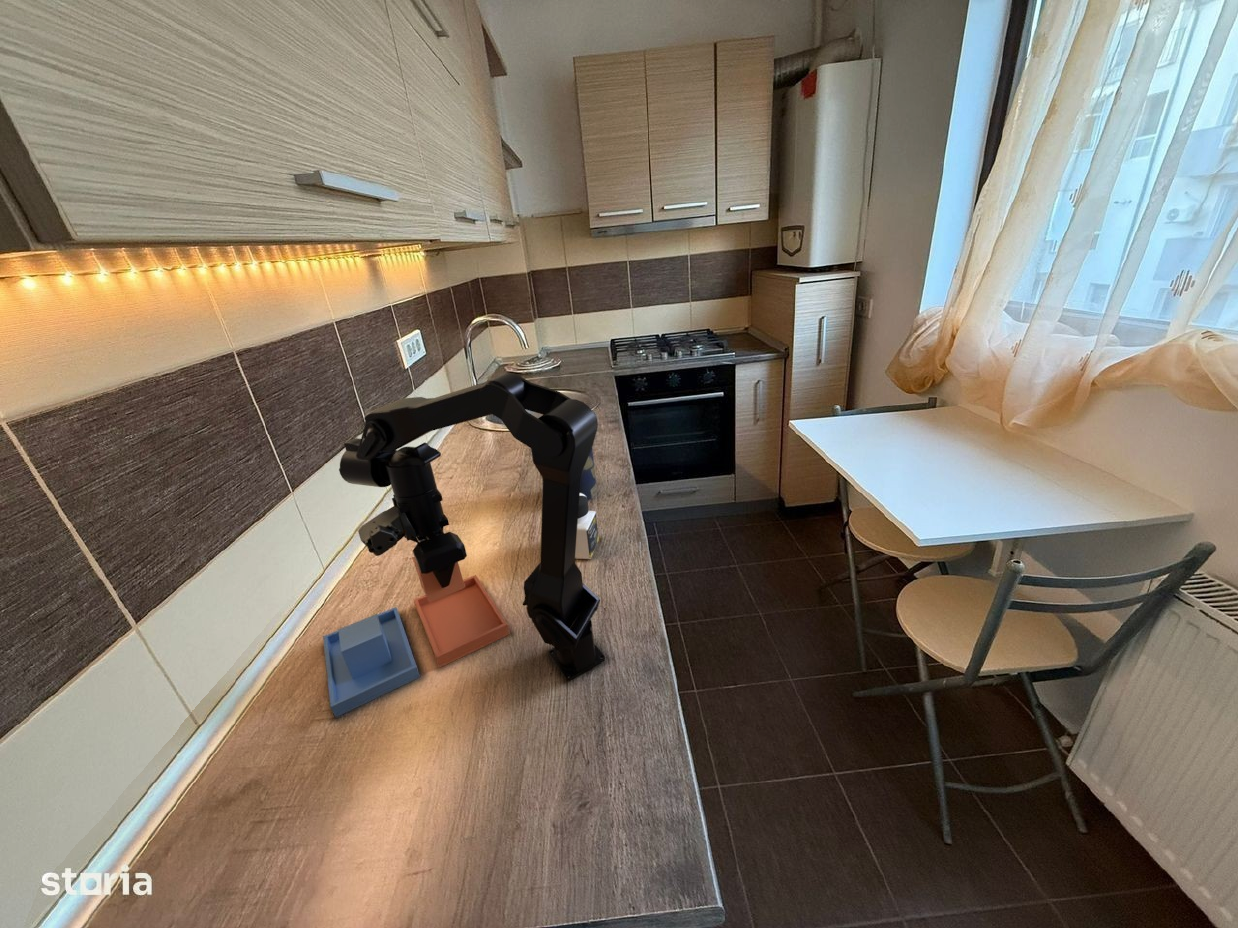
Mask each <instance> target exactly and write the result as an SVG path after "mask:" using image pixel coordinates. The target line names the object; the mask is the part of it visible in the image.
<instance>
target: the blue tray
mask: <svg viewBox="0 0 1238 928" xmlns="http://www.w3.org/2000/svg"><path fill="white" fill-rule="evenodd" d="M376 614H377V613H376ZM377 615H378V618H379V621H380V623H381V626H382V629H383V632H384V634H385V637H386V640H387V643H388V647H389V651H390V654H391V658H392V662H391V663H388V664H386V665H384V666H382V667H379V668H377V669H375V670H373V671H371V672H368V673H366V674H364V675H362V676H360V677H357V678H355V679H352V676H351V674H350V672H349V669H348V667H347V665H346V662H345V660H344V657H343V655H342V653H341V647H340V640H339V633H338V630H336V631H333V632H330V633H328V634H326V635H322V639H323V650H324V659H325V669H326V675H327V676H326V679H327V688H328V696H329V697H328V699H329V705H330V709H331V711H332V714H333V716H334V718H338V717H341V716H342V715H345V714H347V713H349V712H351V711H352V710H354V709H357V708H359V707H361V706H363V705H365V704H367V703H369V702H371V701H373V700H375V699H377V698H380V697H383V696H384V695H386V694H388V693H390V692H392V691H394V690H396V689H398V688H401V687H403V686H405V685H407V684H409V683H411V682H413V681H415V680H418V679H419V678H421V676H420V672H419V670H418V666H417V663H416V661H415V658H414V655H413V651H412V648H411V645H410V643H409V640H408V637H407V634H406V630H405V627H404V625H403V622H402V618H401V616H400V613H399V610H398V607H397V606H395V607H393V608H390V609H387V610H385V611H382V612H380V613H378V614H377Z"/></svg>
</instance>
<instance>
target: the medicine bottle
mask: <svg viewBox="0 0 1238 928" xmlns="http://www.w3.org/2000/svg"><path fill="white" fill-rule="evenodd" d="M598 528H599V527H598V519H597V511H596V510H590V509H589V500H587V497H586V496H585V495H584V494H582V493H580V495H579V509H578V523H577V536H576V550H575V560H576V559H579V560H591V559H592V557H593V555H594V552H595V550H596V548H597V546H598V542H599V540H600V538H599V536H600V535H599V529H598Z"/></svg>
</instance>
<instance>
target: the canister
mask: <svg viewBox="0 0 1238 928" xmlns="http://www.w3.org/2000/svg"><path fill="white" fill-rule="evenodd" d="M597 491H598V487H597V477H596V468H595V459H594V452H593V449H592V450H591V452H590V454H589V457H588V459H587V461H586V464H585V466H584V468H583V471H582V474H581V482H580V493H582V494H584V495H585V496H586V497H587V500H588V501H590V500H591V499H593V498H594V497H595V495H596V494H597Z"/></svg>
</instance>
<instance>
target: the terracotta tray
mask: <svg viewBox="0 0 1238 928" xmlns="http://www.w3.org/2000/svg"><path fill="white" fill-rule="evenodd" d="M463 581H464V585H465V588H464V589H461V590H459V591H456V592H454V593H452V594H449V595H447V596H445V597H442V598H440V599H438V600H435V601H433V602H431V603H429V601H428V599H427V597H426V595H425V594H424V595H422V596H420V597H417V598H414V599H413V603H414V606H415V610H416V612H417V615H418V617H419V620H420V622H421V625H422V627H423V630H424V632H425V635H426V638H427V640H428V643H429V645H430V648H431V650H432V653H433V655H434V658H435V661H436V663H437V665H438V668H442V667H444V666H447V665H448V664H450V663H453V662H454V661H457V660H459V659H461V658H463V657H465V656H467V655H470V654H471V653H473V652H475V651H478V650H479V649H482V648H484V647H486V646H488V645H490V644H492V643H494V642H496V641H499V640H500V639H502V638H504V637H507V636H509V635H510V629H509V624H508V622H507V621H506V619H505V618H504V616H503V615H502V613H501V612H500V610H499V608H498V607H497V605H496V604H495V602H494V601H493V599H492V598H491V596H490V594H489V593H488V591H487V590H486V588H485V587H484V585H483V583H482V582H481V580H480V579H479V578H478V575H477V574H475V575H472V576H469V577H467V578H463Z"/></svg>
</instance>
